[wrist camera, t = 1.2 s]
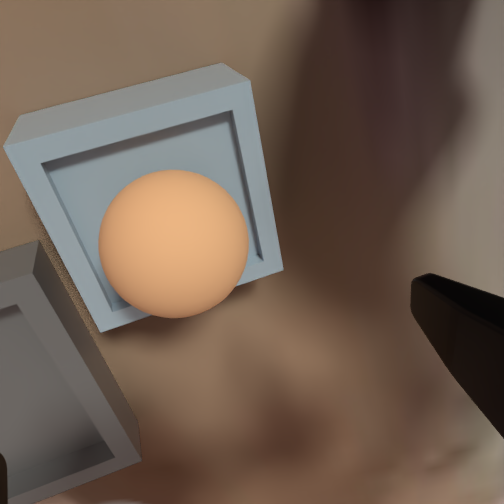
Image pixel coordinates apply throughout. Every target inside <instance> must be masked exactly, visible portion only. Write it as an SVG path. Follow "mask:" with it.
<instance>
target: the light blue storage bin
mask: <svg viewBox="0 0 504 504" xmlns="http://www.w3.org/2000/svg"><path fill="white" fill-rule="evenodd" d="M3 148H4V150H5V152H6V154H7V156H8V157H9V159H10V161H11V163H12V165H13V167H14V169H15V171H16V173H17V175H18V176H19V178H20V180H21V182H22V184H23V186H24V188H25V190H26V192H27V194H28V196H29V197H30V199H31V201H32V203H33V205H34V207H35V209H36V211H37V213H38V215H39V217H40V218H41V220H42V222H43V224H44V226H45V228H46V230H47V232H48V234H49V236H50V237H51V239H52V241H53V243H54V245H55V247H56V249H57V251H58V253H59V255H60V257H61V258H62V260H63V262H64V264H65V266H66V268H67V270H68V272H69V274H70V276H71V277H72V279H73V281H74V283H75V285H76V287H77V289H78V291H79V293H80V295H81V297H82V298H83V300H84V302H85V304H86V306H87V308H88V310H89V312H90V314H91V316H92V317H93V319H94V321H95V323H96V325H97V327H98V329H99V331H100V333H101V332H104V331H107V330H110V329H113V328H116V327H119V326H122V325H125V324H127V323H130V322H133V321H136V320H139V319H142V318H145V317H148V316H151V314H148V313H145V312H143V311H141V310H139V309H137V308H135V307H134V306H132V305H131V304H129V303H128V302H126V301H125V300H124V299H123V298H122V297H121V296H120V295H119V294H118V293H117V292H116V291H115V289H114V288H113V287H112V286H111V284H110V283H109V281H108V279H107V277H106V275H105V273H104V271H103V268H102V265H101V261H100V256H99V250H98V239H99V231H100V226H101V222H102V219H103V217H104V214H105V212H106V210H107V208H108V206H109V205H110V203H111V202H112V200H113V199H114V198H115V196H116V195H117V194H118V193H119V192H120V191H121V190H122V189H123V188H125V187H126V186H127V185H128V184H130V183H131V182H133V181H134V180H136V179H138V178H140V177H142V176H144V175H147V174H149V173H152V172H157V171H161V170H184V171H190V172H194V173H197V174H200V175H203V176H205V177H207V178H209V179H211V180H212V181H214V182H216V183H217V184H219V185H220V186H221V187H222V188H224V189H225V190H226V191H227V192H228V193H229V194H230V196H231V197H232V198H233V199H234V200H235V202H236V203H237V205H238V206H239V208H240V210H241V212H242V214H243V217H244V219H245V222H246V225H247V230H248V237H249V252H248V259H247V262H246V266H245V269H244V272H243V274H242V276H241V278H240V280H239V282H238V283H237V285H236V286H238V285H241V284H244V283H247V282H250V281H253V280H256V279H259V278H262V277H265V276H268V275H270V274H273V273H276V272H279V271H282V270H283V264H282V258H281V253H280V247H279V241H278V236H277V230H276V224H275V219H274V213H273V207H272V202H271V196H270V190H269V185H268V179H267V173H266V168H265V162H264V156H263V151H262V145H261V140H260V134H259V128H258V123H257V117H256V111H255V106H254V100H253V94H252V89H251V83H250V80H249V79H247V78H246V77H244V76H242V75H241V74H239V73H238V72H236V71H234V70H233V69H231V68H230V67H228V66H227V65H225V64H223V63H218V64H214V65H210V66H207V67H203V68H199V69H195V70H191V71H187V72H184V73H180V74H176V75H172V76H168V77H164V78H161V79H157V80H153V81H149V82H145V83H141V84H138V85H134V86H130V87H126V88H122V89H118V90H115V91H111V92H107V93H103V94H99V95H95V96H92V97H88V98H84V99H80V100H76V101H72V102H69V103H65V104H61V105H57V106H53V107H49V108H46V109H42V110H38V111H34V112H30V113H26V114H23V115H20V116H19V118H18V119H17V121H16V123H15V125H14V127H13V129H12V131H11V133H10V135H9V136H8V138H7V140H6V142H5V144H4V146H3Z"/></svg>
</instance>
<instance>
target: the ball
mask: <svg viewBox="0 0 504 504" xmlns="http://www.w3.org/2000/svg"><path fill="white" fill-rule="evenodd" d="M98 250H99V256H100V261H101V265H102V268H103V271H104V273H105V275H106V277H107V279H108V281H109V283H110V284H111V286H112V287H113V288H114V289H115V291H116V292H117V293H118V294H119V295H120V296H121V297H122V298H123V299H124V300H125V301H126V302H128V303H129V304H131V305H132V306H134V307H135V308H137V309H139V310H141V311H143V312H145V313H148V314H151V315H155V316H159V317H165V318H183V317H189V316H193V315H197V314H200V313H202V312H205V311H207V310H209V309H211V308H213V307H214V306H216V305H217V304H219V303H220V302H221V301H222V300H224V299H225V298H226V297H227V296H228V295H229V294H230V293H231V291H232V290H233V289H234V287H235V286H236V285H237V283H238V282H239V280H240V278H241V276H242V274H243V272H244V269H245V266H246V262H247V259H248V252H249V237H248V230H247V225H246V222H245V219H244V217H243V214H242V212H241V210H240V208H239V206H238V205H237V203H236V202H235V200H234V199H233V198H232V197H231V196H230V194H229V193H228V192H227V191H226V190H225V189H224V188H222V187H221V186H220V185H219V184H217V183H216V182H214V181H212V180H211V179H209V178H207V177H205V176H203V175H200V174H197V173H194V172H190V171H184V170H161V171H157V172H152V173H149V174H147V175H144V176H142V177H140V178H138V179H136V180H134V181H133V182H131V183H130V184H128V185H127V186H126V187H125V188H123V189H122V190H121V191H120V192H119V193H118V194H117V195H116V196H115V198H114V199H113V200H112V202H111V203H110V205H109V206H108V208H107V210H106V212H105V214H104V217H103V219H102V222H101V226H100V231H99V239H98Z"/></svg>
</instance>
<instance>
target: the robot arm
mask: <svg viewBox="0 0 504 504" xmlns="http://www.w3.org/2000/svg"><path fill="white" fill-rule="evenodd" d="M410 307H411V312H412V314H413V316H414V318H415V320H416V321H417V323H418V324H419V326H420V327H421V329H422V330H423V332H424V333H425V335H426V337H427V338H428V340H429V341H430V343H431V344H432V346H433V347H434V349H435V350H436V352H437V353H438V355H439V356H440V358H441V360H442V361H443V363H444V364H445V366H446V367H447V368H448V370H449V371H450V373H451V374H452V375H453V377H454V378H455V379H456V381H457V382H458V383H459V384H460V386H461V387H462V388H463V389H464V391H465V392H466V393H467V394H468V395H469V397H470V398H471V399H472V400H473V402H474V403H475V404H476V405H477V406H478V408H479V409H480V410H481V411H482V413H483V414H484V415H485V416H486V417H487V419H488V420H489V421H490V422H491V424H492V425H493V426H494V427H495V428H496V430H497V431H498V432H499V433H500V435H501V436H502V437H503V438H504V298H503V297H500V296H497V295H494V294H491V293H489V292H486V291H483V290H480V289H477V288H474V287H471V286H468V285H465V284H462V283H459V282H456V281H453V280H450V279H447V278H445V277H442V276H439V275H436V274H432V273H428V274H425V275H422V276H419V277H416V278H414V279H413V280H412V282H411V303H410ZM0 504H8V477H7V463H6V460H5V458H4V456H3V455H2V454H1V453H0Z"/></svg>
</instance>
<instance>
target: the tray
mask: <svg viewBox="0 0 504 504" xmlns="http://www.w3.org/2000/svg"><path fill="white" fill-rule="evenodd" d="M0 453H1V454H2V455H3V456H4V458H5V460H6V463H7V477H8V504H34V503H36V502H39V501H41V500H44V499H46V498H49V497H51V496H54V495H57V494H59V493H62V492H64V491H67V490H69V489H72V488H74V487H77V486H79V485H82V484H85V483H87V482H90V481H92V480H95V479H97V478H100V477H102V476H105V475H108V474H110V473H113V472H115V471H118V470H120V469H123V468H125V467H128V466H130V465H133V464H136V463H138V462H141V461H142V455H141V445H140V436H139V427H138V421H137V419H136V417H135V415H134V414H133V412H132V410H131V408H130V406H129V404H128V403H127V401H126V399H125V397H124V395H123V393H122V392H121V390H120V388H119V386H118V384H117V382H116V381H115V379H114V377H113V375H112V373H111V371H110V370H109V368H108V366H107V364H106V362H105V360H104V359H103V357H102V355H101V353H100V351H99V349H98V348H97V346H96V344H95V342H94V340H93V338H92V337H91V335H90V333H89V331H88V329H87V327H86V326H85V324H84V322H83V320H82V318H81V316H80V315H79V313H78V311H77V309H76V307H75V305H74V304H73V302H72V300H71V298H70V296H69V294H68V292H67V291H66V289H65V287H64V285H63V283H62V281H61V280H60V278H59V276H58V274H57V272H56V270H55V269H54V267H53V265H52V263H51V261H50V259H49V258H48V256H47V254H46V252H45V250H44V248H43V247H42V245H41V243H40V241H39V240H37V241H34V242H31V243H28V244H24V245H21V246H18V247H14V248H11V249H8V250H5V251H1V252H0Z"/></svg>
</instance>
